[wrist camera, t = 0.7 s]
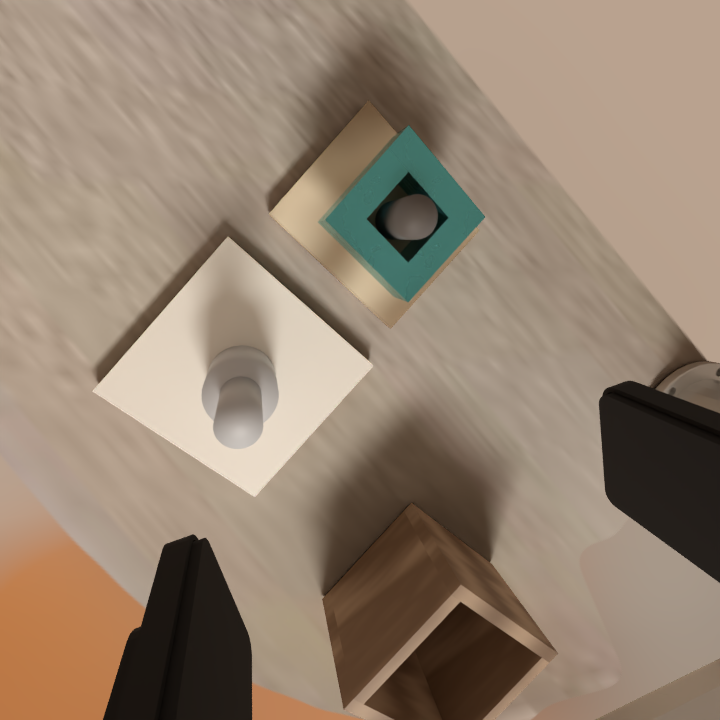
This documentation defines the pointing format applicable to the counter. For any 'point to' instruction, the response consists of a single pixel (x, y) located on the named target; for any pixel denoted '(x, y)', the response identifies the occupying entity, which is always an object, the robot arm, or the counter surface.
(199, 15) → the counter surface
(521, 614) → the tool caddy
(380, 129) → the stand
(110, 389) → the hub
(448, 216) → the teal square frame
